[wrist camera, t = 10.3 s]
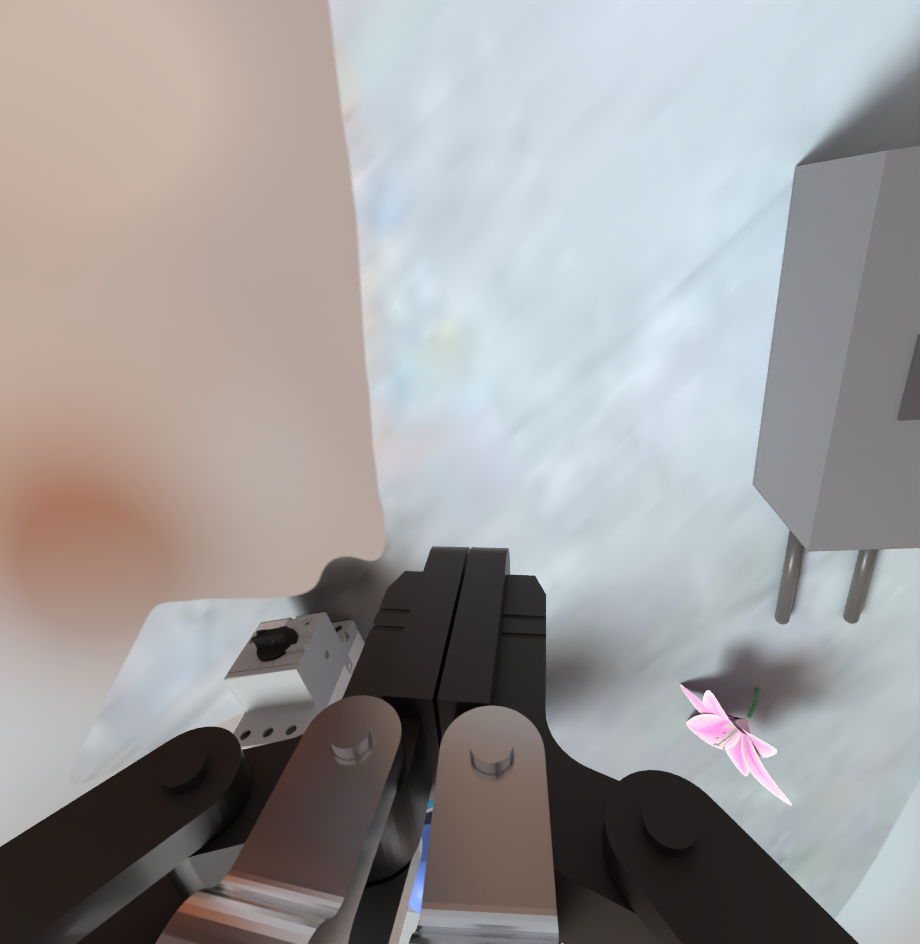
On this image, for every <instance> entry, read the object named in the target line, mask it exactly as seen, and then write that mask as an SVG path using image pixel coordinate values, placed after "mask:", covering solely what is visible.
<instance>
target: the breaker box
mask: <svg viewBox="0 0 920 944" xmlns="http://www.w3.org/2000/svg"><path fill="white" fill-rule="evenodd" d="M753 486H754V487H755V488H756V489H757V490H758V492H759V493H760V494H761V495H762V496H763V498H764V499H765V500H766V501H767V502H768V504H769V505H770V506H771V507H772V509H773V510H774V511H775V512H776V513H777V515H778V516H779V517H780V518H781V519H782V521H783V522H784V523H785V524H786V526H787V527H788V528H789V529H790V533H789V539H788V545H787V550H786V556H785V562H784V567H783V573H782V579H781V584H780V590H779V596H778V601H777V607H776V613H775V620H776V621H777V622H778V623H780V624H787V623H788V622H789V619H790V614H791V609H792V604H793V599H794V593H795V588H796V583H797V578H798V573H799V567H800V562H801V557H802V552H803V547H805V549H806V550H807V551H838V550H859V554H858V558H857V562H856V566H855V570H854V574H853V578H852V582H851V586H850V590H849V594H848V598H847V602H846V606H845V610H844V614H843V617H844V620H845V621H846V622H848V623H851V624H854V623H857V622H858V620H859V617H860V614H861V610H862V606H863V602H864V599H865V595H866V591H867V587H868V584H869V580H870V576H871V572H872V569H873V565H874V561H875V557H876V554H877V550H878V549H902V548H920V146H914V147H907V148H900V149H893V150H886V151H880V152H874V153H869V154H863V155H857V156H852V157H846V158H840V159H835V160H829V161H823V162H817V163H812V164H806V165H800V166H795V173H794V181H793V188H792V196H791V203H790V211H789V218H788V226H787V233H786V241H785V248H784V255H783V263H782V270H781V278H780V285H779V293H778V300H777V308H776V315H775V323H774V330H773V338H772V345H771V352H770V360H769V367H768V375H767V382H766V390H765V397H764V405H763V412H762V420H761V427H760V434H759V442H758V449H757V457H756V464H755V472H754V479H753Z"/></svg>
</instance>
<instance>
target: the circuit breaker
mask: <svg viewBox="0 0 920 944" xmlns="http://www.w3.org/2000/svg"><path fill="white" fill-rule="evenodd" d="M364 645H365V643H364V641H363V639H362V637H361V635H360V633H359V631H358V628H357V626H356V624H355V622H354V620H347V621H341V622H335V623H331V621H330V619H329V617H328V615H327V613H326V612H323V613H316V614H310V615H304V616H298V617H296V619H292V618H286V619H280V620H274V621H268V622H262V623H260V625H259V626H258V628H257V629H256V631H255V632H254V634H253V635H252V637H251V638H250V640H249V641H248V643H247V644H246V646H245V647H244V649H243V650H242V652H241V653H240V655H239V657H238V658H237V660H236V661H235V663H234V664H233V666H232V667H231V669H230V670H229V672H228V674H227V675H226V677H225V678H224V681H225V682H226V684H227V685H228V687H229V688H230V690H231V691H232V693H233V695H234V696H235V698H236V699H237V701H238V702H239V704H240V705H241V707H242V708H243V710H244V712H245V714H244V716H243V718H242V719H241V721H240V723H239V725H238V727H237V728H236V730H235V732H234V735H235V736H236V738H237V739H238V741H239V743H240V746H241V748H242V749H247V748H251V747H256V746H260V745H265V744H269V743H274V742H278V741H283V740H287V739H291V738H294V737H297V736H299V735H302V734H304V733H305V731H306V729H307V727H308V726H309V724H310V723H311V721H312V720H313V719H314V718H315V717H316V716H317V715H318V714H319V713H320V712H321V711H322V710H323V709H325V708H326V707H328V706H329V705H331V704H333V703H335V702H337V701H339V700H341V699H342V697H343V695H344V693H345V691H346V688H347V686H348V683H349V681H350V679H351V676H352V674H353V671H354V669H355V666H356V664H357V662H358V659H359V657H360V654H361V652H362V649H363V647H364Z"/></svg>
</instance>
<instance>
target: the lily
mask: <svg viewBox="0 0 920 944" xmlns="http://www.w3.org/2000/svg"><path fill="white" fill-rule="evenodd" d="M680 686H681V688H682V690H683V692H684V693H685V695H686V696H687V698H688V699H689V700H690V702H691V703H692V704H693V706H694V707H695V708H696V709H697V710H698V711H699V712H700V713H701V714H702V715H697V716H695V717H693V718H691V719H690V720H688V721H687V722H686V724H687V726H688V727H689V729H690V730H691V731H693V732H694V733H695V734H696V735H697V736H699V737H700V738H701V739H703V740H704V741H705V742H707V743H708V744H710V745H712V746H714V747H716V748H719V749H725V750H726V752H727V754H728V755H729V757H730V758H731V760H732V761H733V763H734V764H735V765H736V767H737V768H738V769H739V771H740V772H741V773H742V774H743V775H744V776H748V774H749V772H751V773H752V775H753V776H754V777H755V778H756V779H757V780H758V781H759V782H760V783H761V784H762V785H763V786H764V787H766V788H767V789H768V790H769V791H770V792H772V793H773V794H774V795H776V796H777V797H778V798H780V799H781V800H782V801H784V802H785V803H787V804H788V805H791V806H792V804H791V802H790V801H789V800H788V799H787V797H786V796H785V795H784V794H783V792H782V791H781V790H780V789H779V788H778V786H777V785H776V784H775V782H774V781H773V780H772V779H771V777H770V776H769V774H768V773H767V771H766V770H765V768H764V766H763V764H762V763H761V761H760V759H759V757H758V755H759V756H760V757H763V758H767V757H770V756H773V755H775V754H776V753H777V750H776V749H775V748H774V747H772V746H770V745H769V744H767V743H765V742H763V741H762V740H760V739H758V738H756V737H755V736H753V735H751V734H750V730H749V726H748V722H749V719H750V717H751V716H752V713H753V711H754V709H755V706H756V702H757V698H758V694H759V689H758V688H757V689H756V692H755V697H754V701H753V705H752V707H751V710H750V712H749V714H748V715H747V717H746V718H745V719H742V718H737V717H734V716H730V715H727V714H725V712H724V711H723V709H722V707H721V706H720V704H719V702H718V701H717V699H716V698H715V696H714V695H713V693H712V692H711V691H710V690H707V691H706V692H705V694H704V696H703V700H702V701H701V700H700V699H698V698H697V697H696V696H695V695H693V694H692V693H691V692H690V691H688V690H687V689H686V688H685V687H684V686H683V685H681V684H680ZM750 738H751V740H752V742H753V744H754V747H755V749H756V751H755V749H754V747H753V745H752V743H751V740H750ZM756 752H757V753H758V755H757V753H756Z"/></svg>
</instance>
